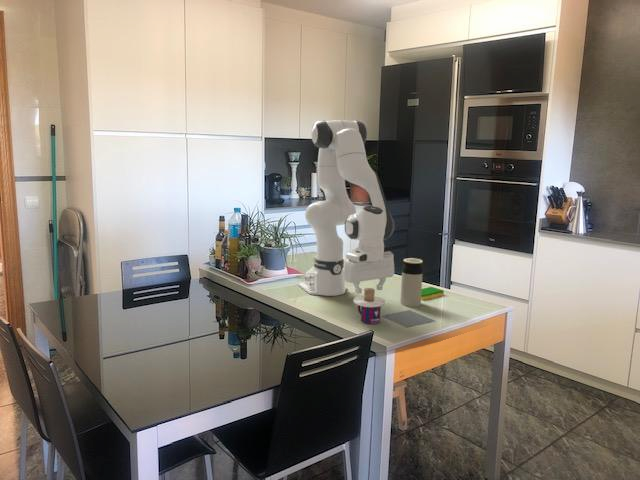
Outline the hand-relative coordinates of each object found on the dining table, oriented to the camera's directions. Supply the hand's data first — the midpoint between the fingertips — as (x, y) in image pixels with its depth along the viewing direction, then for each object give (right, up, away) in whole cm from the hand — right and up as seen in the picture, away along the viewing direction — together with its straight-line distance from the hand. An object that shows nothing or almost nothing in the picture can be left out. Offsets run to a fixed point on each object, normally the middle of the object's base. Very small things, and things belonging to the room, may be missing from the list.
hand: (369, 291), depth 184 cm
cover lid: (0, -4, +1) cm, 4 cm away
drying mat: (+15, -11, +5) cm, 19 cm away
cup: (0, -11, +2) cm, 11 cm away
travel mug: (+19, -8, +22) cm, 30 cm away
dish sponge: (+28, -6, +35) cm, 45 cm away
